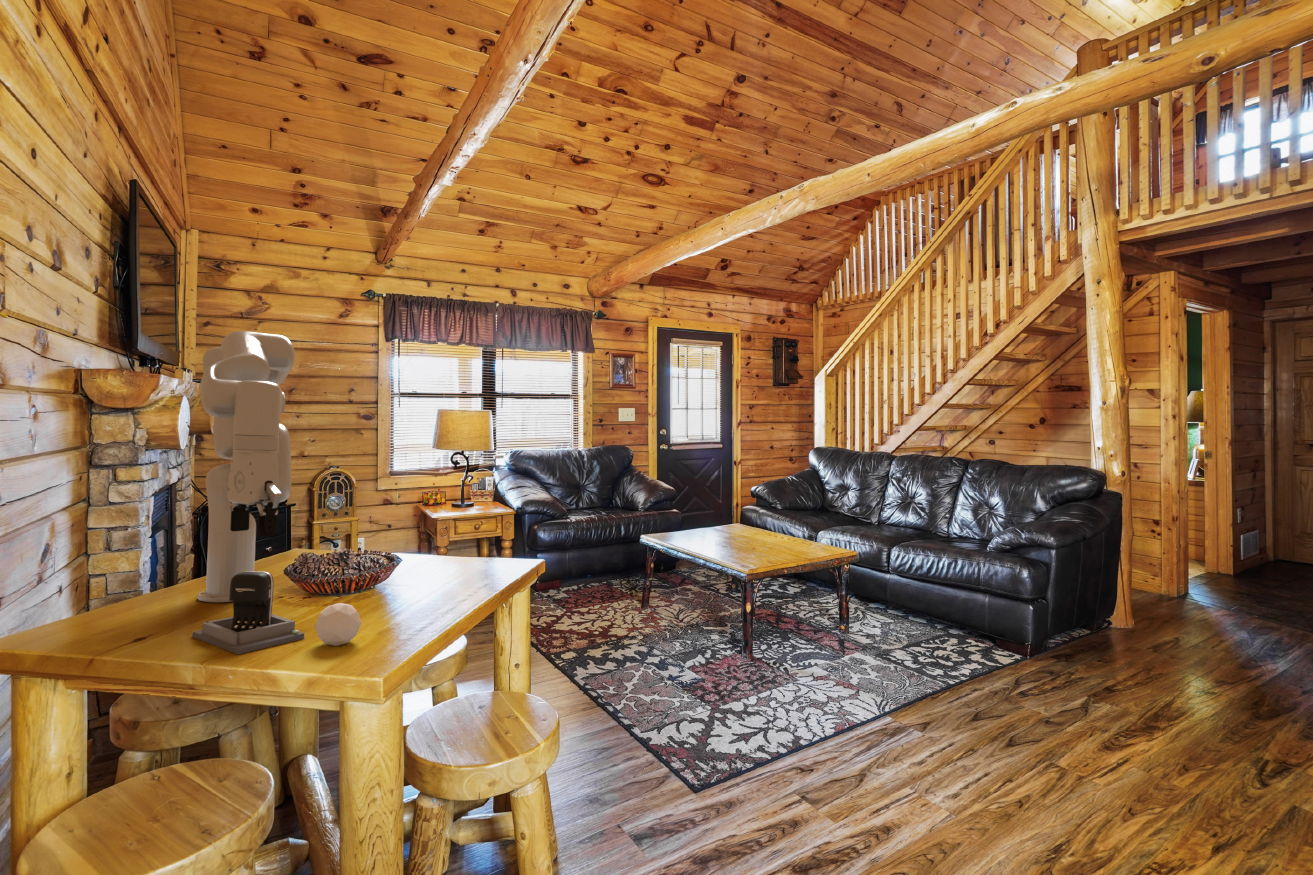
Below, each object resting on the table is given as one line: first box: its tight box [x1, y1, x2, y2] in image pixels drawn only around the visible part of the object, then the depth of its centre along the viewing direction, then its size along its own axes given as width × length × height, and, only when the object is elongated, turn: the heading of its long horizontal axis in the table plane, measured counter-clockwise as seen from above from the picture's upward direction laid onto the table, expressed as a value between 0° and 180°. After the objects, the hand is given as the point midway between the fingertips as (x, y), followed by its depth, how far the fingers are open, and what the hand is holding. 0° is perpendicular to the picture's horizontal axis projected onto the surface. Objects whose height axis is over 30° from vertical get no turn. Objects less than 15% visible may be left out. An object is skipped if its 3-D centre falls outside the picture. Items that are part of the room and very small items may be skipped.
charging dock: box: [191, 613, 305, 655], centre depth 125 cm, size 17×12×3 cm
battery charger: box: [229, 570, 274, 632], centre depth 125 cm, size 7×4×11 cm, turn 91°
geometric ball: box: [314, 602, 362, 647], centre depth 124 cm, size 8×8×8 cm
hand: (252, 533), depth 125 cm, fingers open, 9 cm apart
